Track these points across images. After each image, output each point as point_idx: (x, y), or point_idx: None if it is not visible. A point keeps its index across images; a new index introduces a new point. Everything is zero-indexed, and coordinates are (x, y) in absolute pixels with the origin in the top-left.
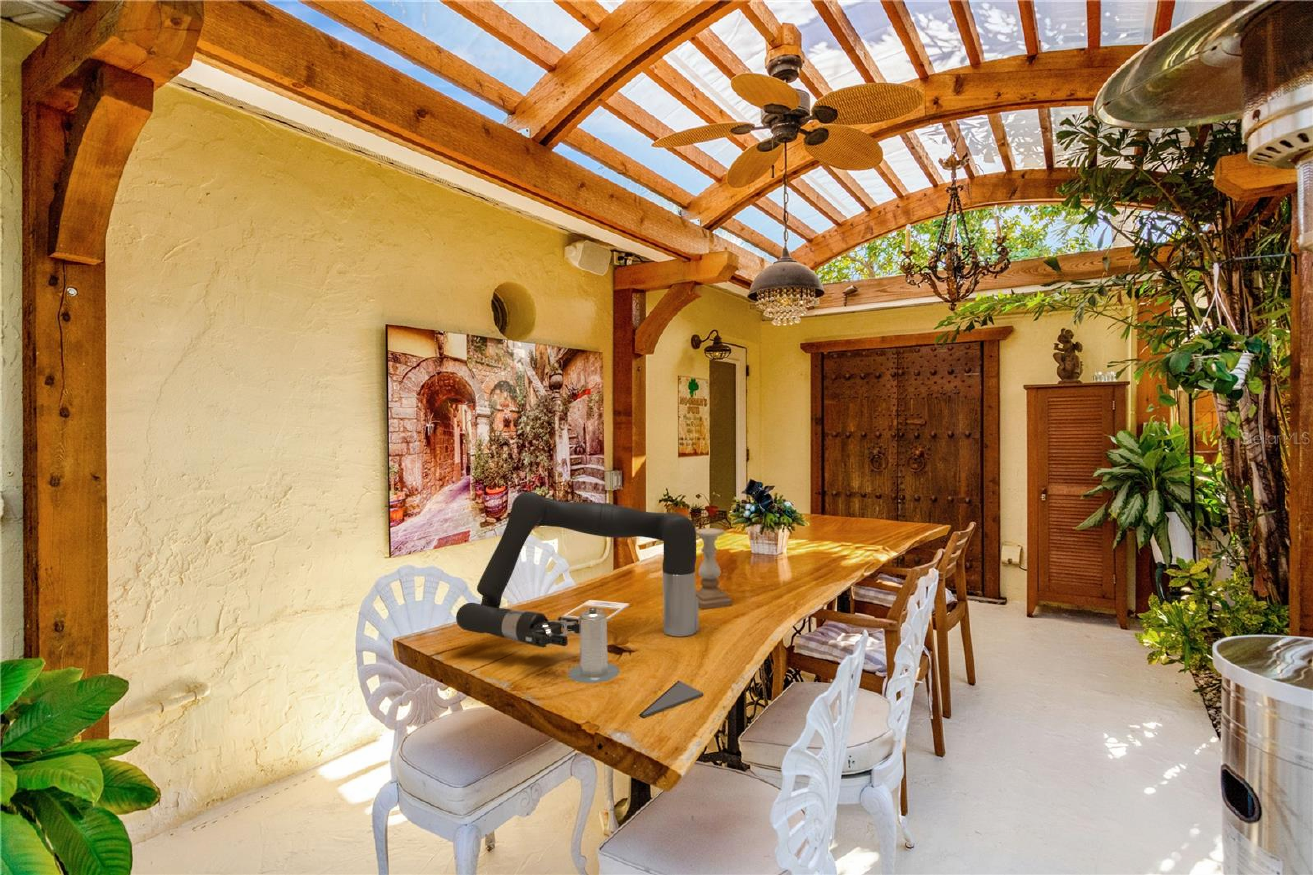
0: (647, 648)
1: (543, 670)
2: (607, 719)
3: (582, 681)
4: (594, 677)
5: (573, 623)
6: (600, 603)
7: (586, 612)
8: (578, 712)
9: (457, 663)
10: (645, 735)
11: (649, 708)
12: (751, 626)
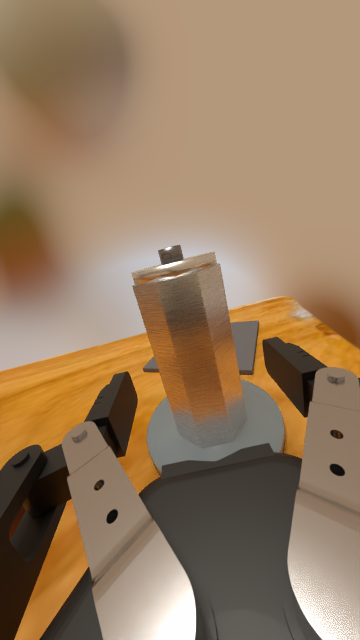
0: (20, 447)
1: None
2: (297, 330)
3: (267, 398)
4: None
5: (96, 428)
6: None
7: (178, 261)
8: (331, 350)
9: None
10: (278, 311)
11: (242, 325)
12: None
